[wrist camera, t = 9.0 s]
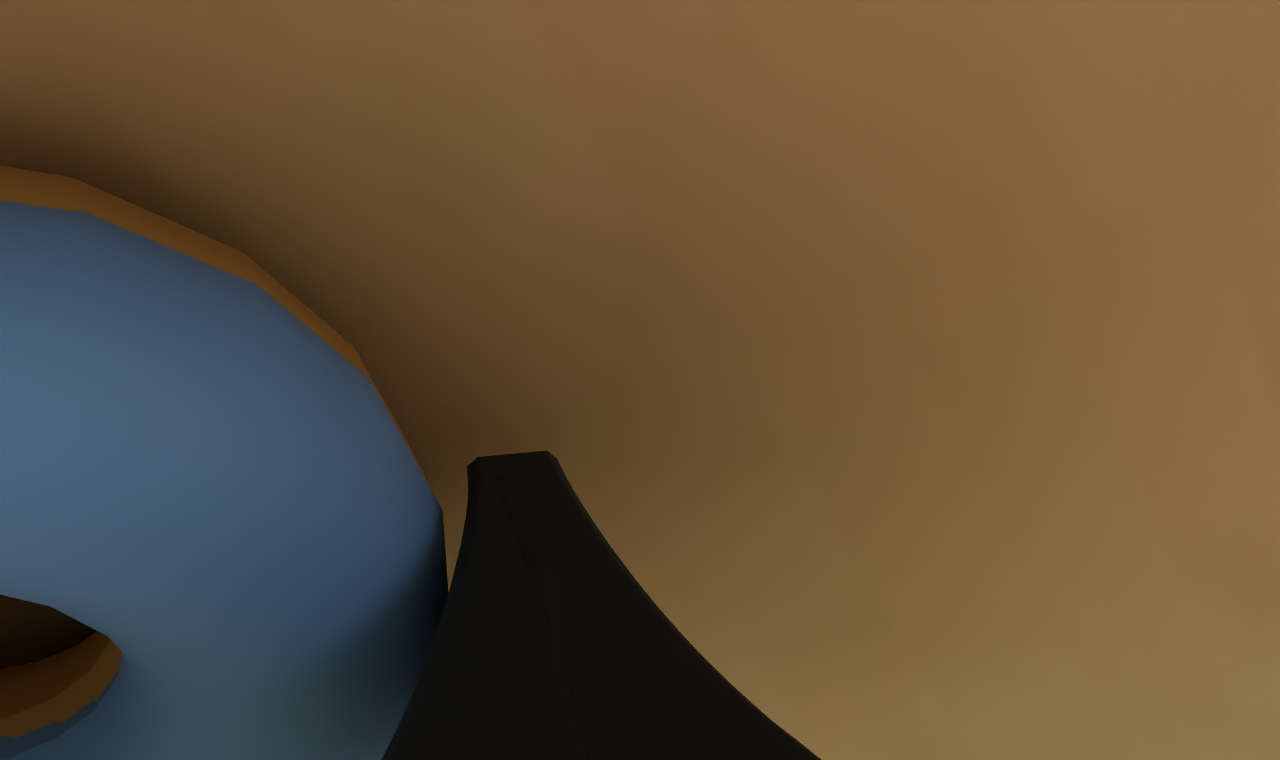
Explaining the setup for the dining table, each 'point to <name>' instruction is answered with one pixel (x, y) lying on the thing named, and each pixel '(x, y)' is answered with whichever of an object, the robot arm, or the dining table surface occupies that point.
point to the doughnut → (197, 500)
